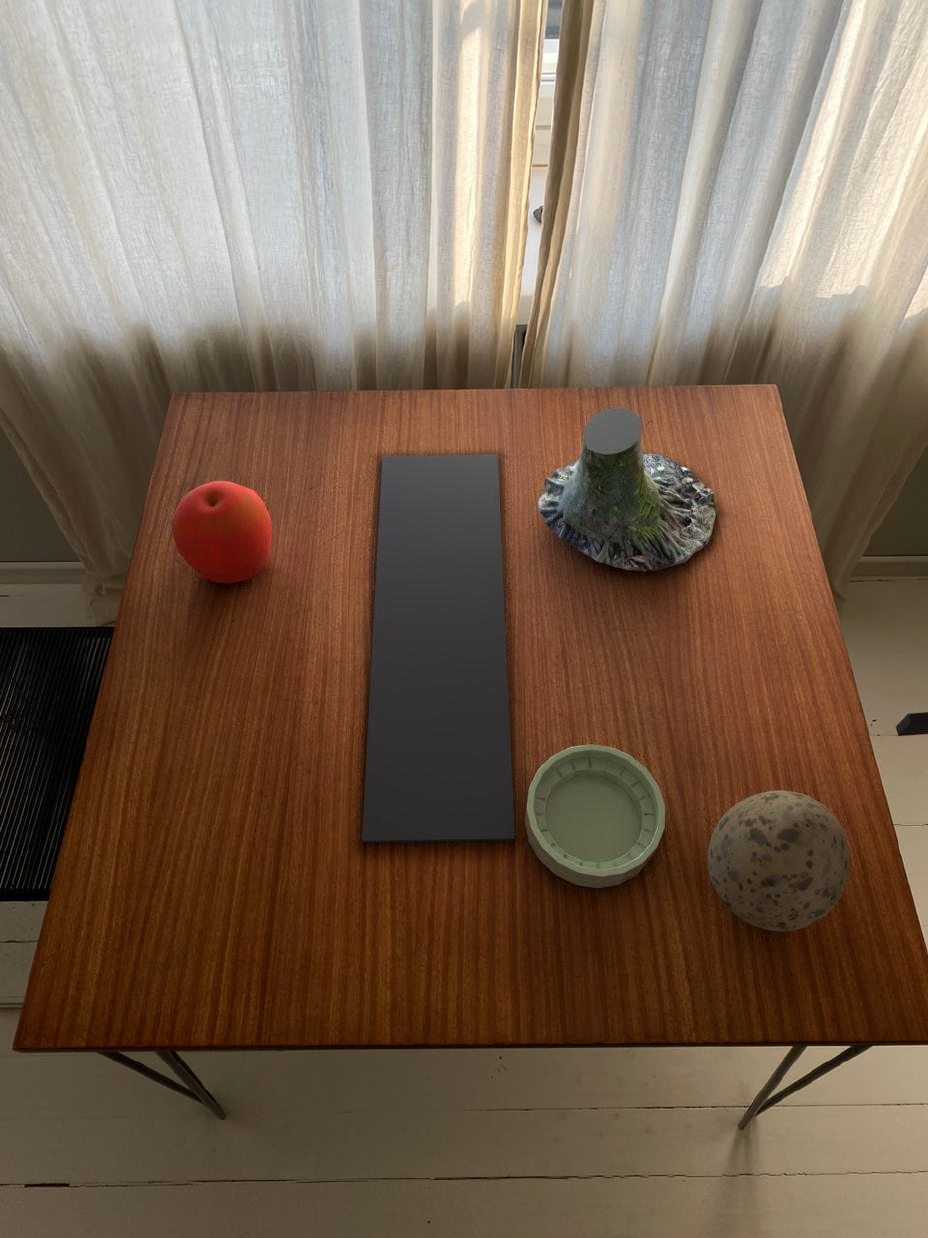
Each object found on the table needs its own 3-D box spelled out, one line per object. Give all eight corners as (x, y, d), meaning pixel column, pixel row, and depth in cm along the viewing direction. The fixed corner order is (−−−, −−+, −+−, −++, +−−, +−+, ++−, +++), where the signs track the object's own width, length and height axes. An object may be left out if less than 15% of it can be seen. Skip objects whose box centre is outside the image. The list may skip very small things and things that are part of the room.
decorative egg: (725, 804, 82) (770, 733, 69) (835, 868, 78) (904, 806, 66) (672, 900, 77) (711, 843, 64) (788, 973, 73) (852, 928, 61)
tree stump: (744, 563, 98) (752, 468, 82) (573, 618, 100) (549, 535, 84) (687, 442, 107) (685, 335, 91) (531, 494, 109) (503, 398, 93)
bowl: (598, 918, 76) (604, 906, 73) (497, 823, 81) (498, 807, 78) (684, 823, 81) (693, 807, 77) (583, 738, 86) (588, 720, 82)
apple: (272, 519, 101) (251, 448, 92) (288, 586, 96) (267, 518, 86) (184, 539, 100) (153, 469, 90) (195, 609, 94) (164, 542, 85)
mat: (515, 841, 80) (515, 839, 79) (362, 843, 80) (361, 841, 79) (497, 457, 106) (497, 454, 106) (382, 459, 106) (382, 455, 106)
